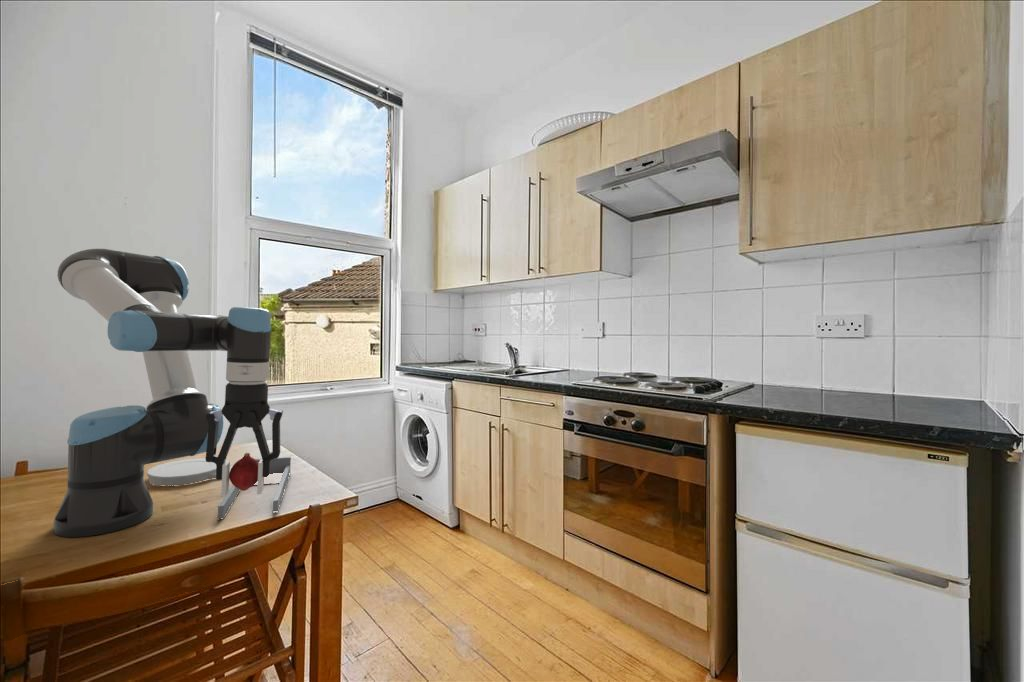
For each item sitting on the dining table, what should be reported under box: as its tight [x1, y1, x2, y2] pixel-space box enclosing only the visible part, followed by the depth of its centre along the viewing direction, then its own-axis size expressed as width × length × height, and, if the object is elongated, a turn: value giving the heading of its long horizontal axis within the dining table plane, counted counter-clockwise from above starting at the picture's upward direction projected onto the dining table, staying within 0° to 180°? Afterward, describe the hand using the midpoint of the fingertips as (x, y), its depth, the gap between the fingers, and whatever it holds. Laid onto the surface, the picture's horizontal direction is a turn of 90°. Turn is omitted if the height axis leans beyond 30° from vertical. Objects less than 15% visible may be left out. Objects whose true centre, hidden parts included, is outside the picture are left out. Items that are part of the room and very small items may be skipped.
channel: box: [217, 456, 292, 520], centre depth 108 cm, size 11×29×5 cm, turn 22°
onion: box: [229, 452, 259, 492], centre depth 91 cm, size 6×6×8 cm
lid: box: [146, 457, 233, 486], centre depth 119 cm, size 17×20×3 cm
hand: (242, 492), depth 89 cm, fingers closed on onion, 6 cm apart
